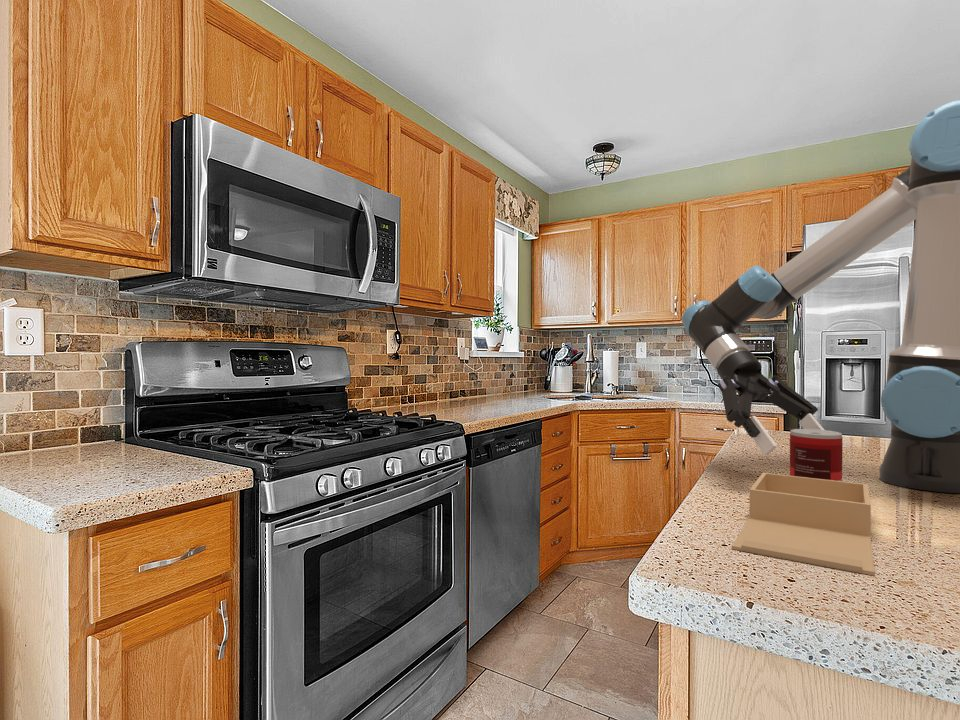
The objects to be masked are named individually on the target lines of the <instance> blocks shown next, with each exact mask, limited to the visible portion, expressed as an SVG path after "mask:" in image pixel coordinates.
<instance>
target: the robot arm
mask: <svg viewBox="0 0 960 720" xmlns="http://www.w3.org/2000/svg"><path fill="white" fill-rule="evenodd" d="M909 151H910V157H911V160H910V165H909V166H908V167H907V168H905V170H904V171H903V172H901V173H899V174H898V175H897V176H896V177H894V178H893V180H892V183H891V187H889V188H887V189H886V190H885V191H884V192H882V193H881V194H880V195H879V196H877V197H876V198H874V199H873V200H871V201H870V202H868V203H867V204H866V205H864V206H863V207H862V208H861V209H859V210H857V211H856V212H854V213H853V215H851V216H849V217H848V218H846V219H845V220H844V221H842V222H841V223H839V224H838V225H837V226H835V227H834V228H833V229H832V230H830V231H828V232H827V233H826V234H824V235H823V236H822V237H820V238H819V239H818V240H816V241H814V243H812V244H811V245H809V246H807V248H805V249H804V250H803V251H801V252H799V253H798V254H797V255H796V256H794V257H793V258H792V259H790V260H788V261H787V262H786V263H785V264H783V265H781V266H780V267H779V268H777V269H776V270H775V271H773V272H772V273H771V274H770V272H768V271H767V270H766V269H765V268H764V267H762V266H760V265H753V266H751V267H750V268H749V269H747V270H746V271H745V272H744V273H741V274H740V275H739V276H738V278H737V279H736V280H734V281H733V283H732V284H730V285H729V286H728V287H727V288H726V289H725V290H723V292H722V293H721V294H720V295H718V296H717V297H716V298H715V299H714V300H713V301H709V300H704V299H703V300H699V301H695V303H694V304H690V305H689V306H688V307H687V308H685V310H684V311H683V314H682V316H681V322H682V325H683V327H684V328H685V330H686V332H687V333H688V336H689V337H690V338H691V339H692V341H693V342H694V343H695V345H697V347H698V348H699V350H700V351H701V352H702V353H703V355H704V356H705V358H706V359H707V360H708V362H709V363H710V364H711V366H712V367H713V369H714V370H715V371H716V372H717V375H718V376H719V377H720V378H721V379H720V381H719V382H718V384H717V387H718V389H719V390H720V392H721V396H722V401H723V406H724V410H725V411H724V412H725V417H726V420H727V421H728V422H730V423H733V422H734V423H733V424H734V426H735V427H737V428H741V427H743V430H745V432H746V433H747V434H748V436H749V437H750V438H752V440H753V441H754V442H755V444H756V445H757V447H758V448H759V449H760V451H761V452H762V454H763V456H769V455H770V454H771V453H772V452H773V451H774V450H776V448H777V447H778V444H777V443H776V442H775V440H774V439H773V437H772V436H771V435H770V433H769V432H768V431H767V430H766V428H765V426H763V424H762V422H760V420H759V418H758V417H757V416H756V415H752V416H751V412H752V403H753V401H756V400H757V401H764V402H765V403H767V404H770V403H771V404H773V405H774V406H777V407H778V408H779V409H782V410H783V411H784V412H786V413H788V414H790V415H791V416H792V417H794V418H796V419H798V420H799V422H798V424H799V425H800V426H801V428H802V429H818V430H825V428H824V427H823V426H822V424H821V422H819V421H818V420H817V419H816V417H815V416H814V415H815V414H816V413H817V412H818V411H819V408H818V407H816V405H815V404H813V403H812V402H810V401H809V400H807V399H806V398H804V397H803V396H802V395H801V394H799V393H798V392H797V391H795V390H794V389H792V387H790V386H789V385H787V384H786V383H785V382H784V381H783V380H782V379H781V378H780V377H779V375H775V374H774V375H773V376H772V377H771V378H767V377H766V376H765V375H764V374H763V373H762V364H761V362H760V361H759V359H758V358H757V357H756V356H755V354H754V353H753V352H751V350H750V348H749V347H748V346H747V344H746V343H745V342H744V341H743V340H742V339H741V337H740V336H739V334H737V333H736V330H737V329H739V328H741V327H742V326H743V325H744V324H745V323H746V322H747V321H748V320H750V319H751V318H752V317H754V318H755V319H756V318H757V319H761V320H769V319H775V318H777V317H778V316H780V315H781V314H782V313H784V311H785V310H786V308H787V307H788V306H789V305H791V304H792V303H793V302H795V301H796V300H797V299H799V298H800V297H802V296H803V295H805V294H807V293H808V292H810V291H811V290H812V289H814V288H815V287H818V285H820V284H821V283H823V282H824V281H826V280H827V279H829V278H831V276H833V275H835V274H836V273H838V272H840V271H841V270H843V269H844V268H845V267H847V266H848V265H849V264H851V263H853V262H855V261H856V260H857V259H859V258H860V257H862V256H863V255H865V254H866V253H868V252H869V251H870V250H873V248H875V247H877V246H878V245H880V244H881V243H883V241H886V240H888V238H890V237H892V236H893V235H895V234H896V233H898V232H899V231H900V230H902V229H903V228H905V227H906V226H909V224H911V223H912V222H913V221H915V222H914V224H915V225H914V231H913V232H914V233H913V241H912V249H911V250H912V251H911V258H910V259H911V260H910V269H909V277H908V278H909V279H908V285H907V286H908V287H907V294H906V295H907V296H906V304H905V313H904V322H903V330H902V338H901V339H902V341H901V344H900V345H899V346H898V347H897V348H895V349H894V350H892V351H890V352H889V355H888V356H889V358H888V365H887V373H886V383H885V385H884V387H883V390H882V392H881V396H880V403H881V407H882V411H883V413H884V415H885V416H886V418H887V419H888V420H889V421H890V425H891V426H890V441H889V445H888V447H887V449H886V451H885V455H884V457H883V460H882V463H881V464H880V466H879V480H881V481H882V482H886V483H888V484H891V485H894V486H895V485H896V486H899V487H903V488H909V489H917V490H920V491H921V490H922V491H930V492H936V493H937V492H939V493H947V494H948V493H951V494H960V99H956V100H953V101H950V102H947V103H944V104H943V105H942V104H941V105H940V106H938V107H936V108H935V109H933V110H932V111H931V112H929V113H928V114H926V115H925V117H923V118H922V119H921V120H920V122H919V123H918V124H917V126H916V127H915V129H914V131H913V133H912V136H911V138H910V140H909ZM750 416H751V417H750Z"/></svg>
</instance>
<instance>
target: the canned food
mask: <svg viewBox="0 0 960 720" xmlns="http://www.w3.org/2000/svg"><path fill="white" fill-rule="evenodd" d="M843 446H844V445H843V433H842V432H839V431H833V430H826V429H824V430H818V429H803V428H795V429H790V432H789V476H798V477H807V478H816V479H825V480H834V481H843Z"/></svg>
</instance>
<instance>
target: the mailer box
mask: <svg viewBox="0 0 960 720" xmlns="http://www.w3.org/2000/svg"><path fill="white" fill-rule="evenodd" d="M871 505H872V504H871V498H870V491H869V484H868V483H860V482H859V483H858V482H851V481H843V480H842V481H834V480H825V479H816V478H807V477H798V476H790V474H789V475H787V474H786V475H785V474H778V473H770V472H762V473H761V474H760V476H759V477H758V479H756V480H755V482H754V483H753V484H752V486H751V487H750V489H749V514H748V515H749V518H748V519H747V521H746V522H745V524H744V526H743V528H742V529H741V531H740V532H739V533H738V535H737V537H736V538H735V540H734V541H733V543H732V545H731V550H734V551H740V552H744V553H745V552H746V553H750V554H756V555H761V556H766V557H771V558H772V557H773V558H778V559H783V560H788V561H792V562H793V561H794V562H798V563H799V562H800V563H802V564H803V563H805V564H810V565H814V566H821V567H824V568H825V567H827V568H831V569H837V570H841V571H847V572H852V573H857V574H858V573H859V574H861V575H862V574H863V575H867V576H868V575H869V576H874V577H875V571H876V570H875V564H874V556H873V548H872V547H873V546H872V538H871V534H872V533H871V532H872V530H871V525H872V524H871V523H872V522H871V521H872V519H871V515H872V514H871V512H872V510H871V509H872V507H871Z"/></svg>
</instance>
